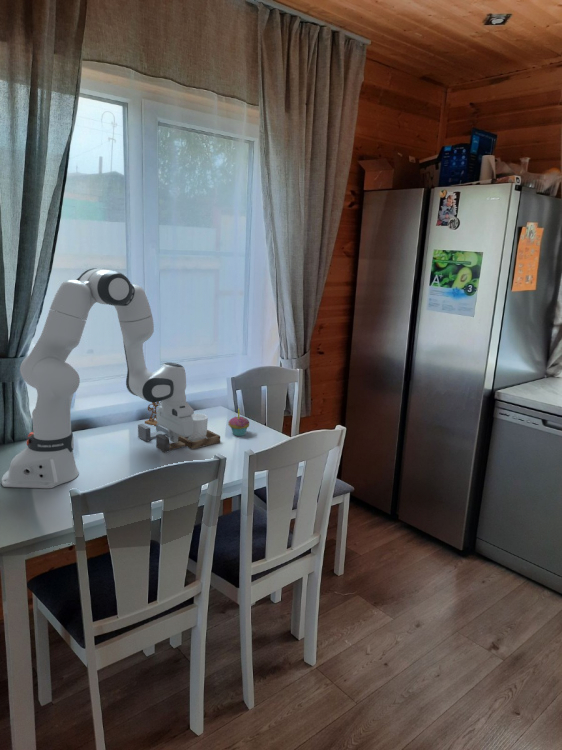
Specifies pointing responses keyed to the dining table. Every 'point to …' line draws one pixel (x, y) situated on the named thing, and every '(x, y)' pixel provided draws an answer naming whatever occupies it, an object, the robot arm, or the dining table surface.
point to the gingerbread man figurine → (151, 420)
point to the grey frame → (146, 435)
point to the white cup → (199, 427)
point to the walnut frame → (185, 442)
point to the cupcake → (238, 425)
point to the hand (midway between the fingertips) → (174, 441)
